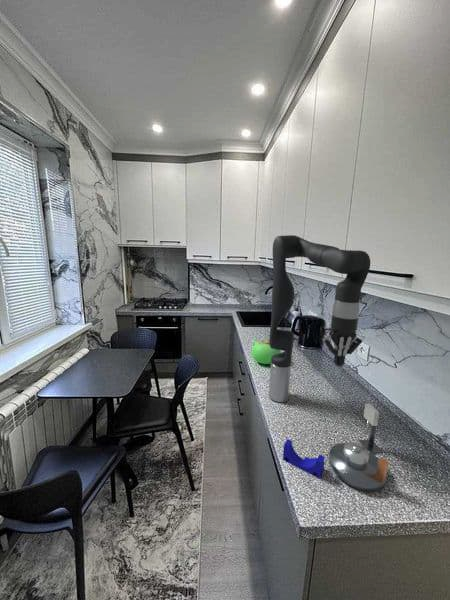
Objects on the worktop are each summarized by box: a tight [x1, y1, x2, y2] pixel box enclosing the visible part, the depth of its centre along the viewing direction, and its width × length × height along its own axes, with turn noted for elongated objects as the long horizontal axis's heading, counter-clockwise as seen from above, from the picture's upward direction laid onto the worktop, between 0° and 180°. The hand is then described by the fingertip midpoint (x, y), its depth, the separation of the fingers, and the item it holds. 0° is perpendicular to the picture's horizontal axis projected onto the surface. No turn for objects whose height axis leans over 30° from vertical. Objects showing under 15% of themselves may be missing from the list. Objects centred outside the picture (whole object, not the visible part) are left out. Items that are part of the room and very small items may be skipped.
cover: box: [343, 441, 369, 471], centre depth 78 cm, size 7×7×5 cm
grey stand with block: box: [358, 403, 384, 454], centre depth 87 cm, size 6×5×16 cm
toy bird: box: [251, 339, 282, 365], centre depth 156 cm, size 18×17×15 cm
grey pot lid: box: [328, 442, 390, 492], centre depth 78 cm, size 16×16×8 cm
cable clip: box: [282, 438, 326, 479], centre depth 80 cm, size 12×4×6 cm, turn 53°
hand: (338, 365), depth 82 cm, fingers closed
